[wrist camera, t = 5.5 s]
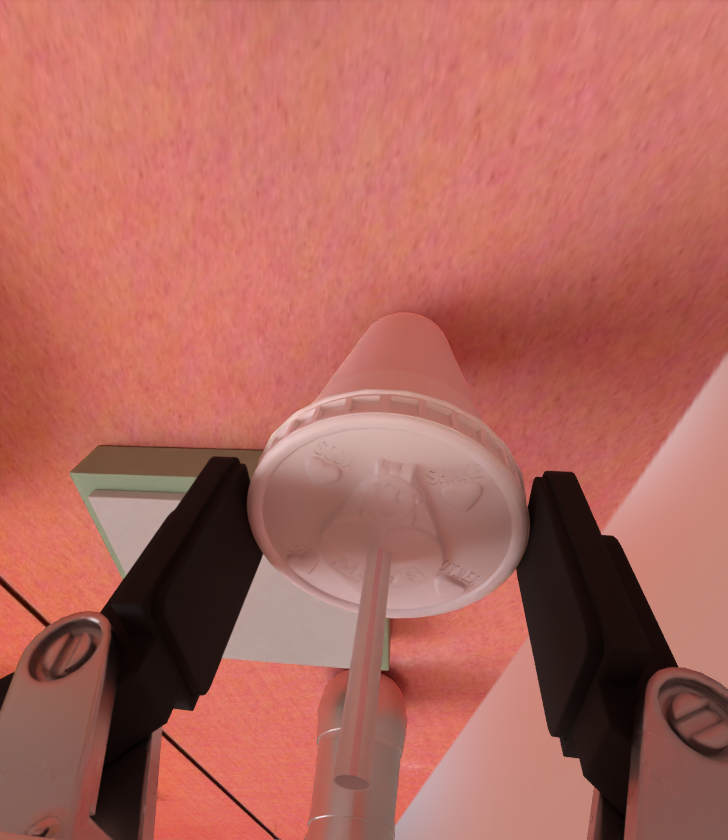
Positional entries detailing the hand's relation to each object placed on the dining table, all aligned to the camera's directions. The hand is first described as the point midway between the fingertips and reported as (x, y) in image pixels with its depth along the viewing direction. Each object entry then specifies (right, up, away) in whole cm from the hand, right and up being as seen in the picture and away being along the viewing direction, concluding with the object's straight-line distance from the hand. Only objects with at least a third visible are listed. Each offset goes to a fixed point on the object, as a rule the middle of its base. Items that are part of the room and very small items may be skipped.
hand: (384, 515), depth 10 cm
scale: (-7, -6, +17) cm, 20 cm away
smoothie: (+1, +5, +8) cm, 9 cm away
